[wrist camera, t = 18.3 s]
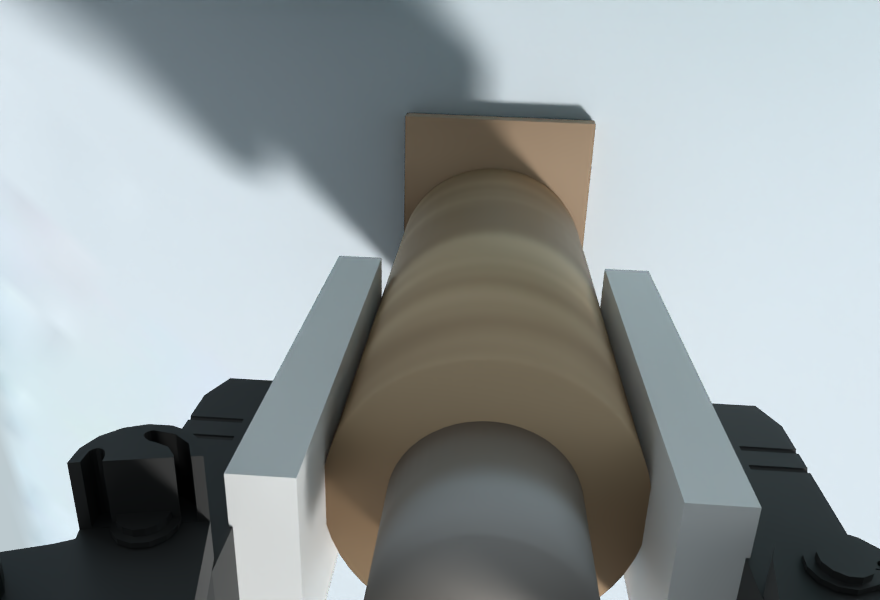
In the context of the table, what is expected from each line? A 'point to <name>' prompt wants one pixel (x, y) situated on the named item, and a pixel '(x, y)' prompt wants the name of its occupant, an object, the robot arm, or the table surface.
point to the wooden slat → (500, 154)
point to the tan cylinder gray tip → (487, 412)
